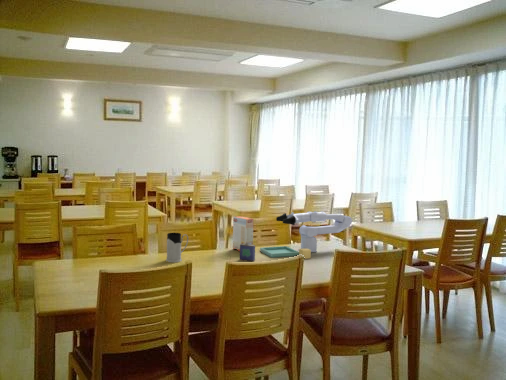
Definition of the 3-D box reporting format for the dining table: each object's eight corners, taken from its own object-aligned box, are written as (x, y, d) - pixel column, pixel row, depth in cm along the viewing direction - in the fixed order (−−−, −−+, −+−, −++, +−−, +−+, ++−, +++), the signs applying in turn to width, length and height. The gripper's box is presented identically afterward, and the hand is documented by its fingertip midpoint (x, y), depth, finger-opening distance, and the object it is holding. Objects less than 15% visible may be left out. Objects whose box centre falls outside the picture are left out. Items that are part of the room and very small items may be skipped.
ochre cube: (306, 256, 273) (306, 248, 273) (310, 258, 268) (310, 250, 268) (298, 257, 271) (299, 248, 271) (302, 258, 267) (303, 250, 266)
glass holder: (162, 260, 256) (162, 233, 254) (182, 256, 266) (183, 230, 265) (172, 263, 250) (172, 235, 248) (192, 259, 260) (192, 232, 259)
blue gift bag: (255, 260, 260) (255, 241, 259) (253, 261, 257) (253, 242, 256) (240, 258, 263) (240, 240, 262) (238, 260, 260) (238, 241, 259)
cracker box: (253, 252, 281) (254, 218, 279) (245, 253, 277) (245, 219, 275) (240, 248, 292) (241, 215, 290) (232, 249, 288) (233, 216, 287)
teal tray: (286, 249, 291) (286, 246, 291) (299, 255, 274) (299, 252, 274) (260, 251, 284) (260, 247, 284) (271, 257, 268) (271, 253, 267)
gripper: (293, 209, 288) (274, 211, 282) (305, 213, 275) (285, 216, 270) (293, 220, 289) (274, 222, 284) (305, 225, 276) (285, 227, 271)
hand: (279, 220), depth 277 cm, fingers open, 7 cm apart
